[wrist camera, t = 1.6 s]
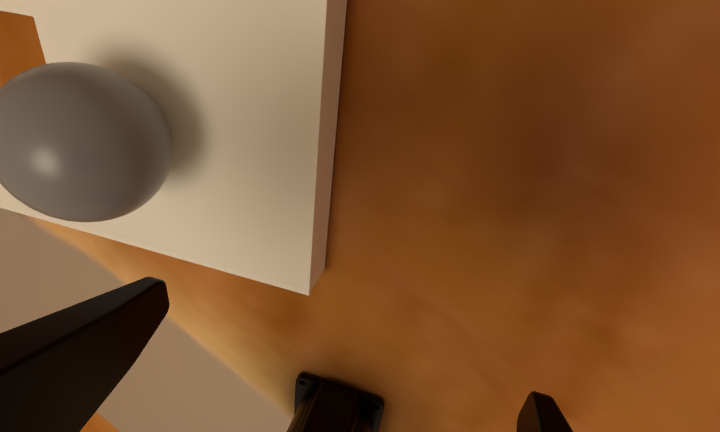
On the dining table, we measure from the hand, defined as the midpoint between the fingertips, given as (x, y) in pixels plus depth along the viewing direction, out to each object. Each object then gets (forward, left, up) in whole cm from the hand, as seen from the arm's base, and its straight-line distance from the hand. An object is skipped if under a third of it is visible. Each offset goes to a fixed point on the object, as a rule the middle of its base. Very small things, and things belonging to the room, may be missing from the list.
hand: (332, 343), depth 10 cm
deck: (0, +16, -12) cm, 20 cm away
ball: (0, +13, -6) cm, 14 cm away
